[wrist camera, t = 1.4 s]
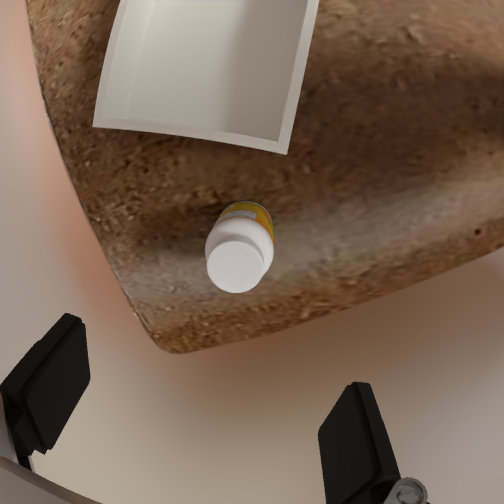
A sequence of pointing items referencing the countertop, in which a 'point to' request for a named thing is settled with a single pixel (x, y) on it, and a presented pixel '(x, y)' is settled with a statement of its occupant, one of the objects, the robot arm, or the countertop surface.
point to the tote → (207, 69)
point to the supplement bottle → (240, 247)
